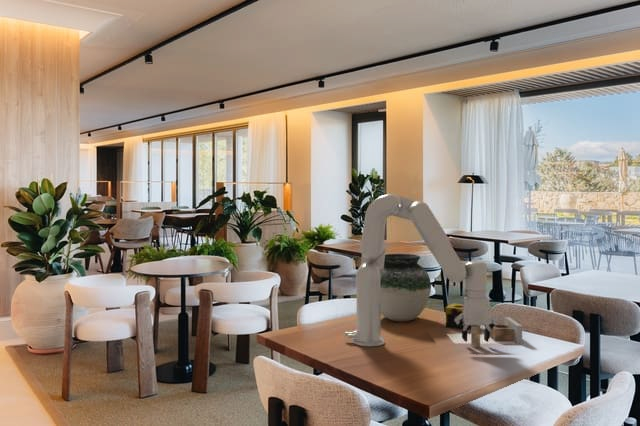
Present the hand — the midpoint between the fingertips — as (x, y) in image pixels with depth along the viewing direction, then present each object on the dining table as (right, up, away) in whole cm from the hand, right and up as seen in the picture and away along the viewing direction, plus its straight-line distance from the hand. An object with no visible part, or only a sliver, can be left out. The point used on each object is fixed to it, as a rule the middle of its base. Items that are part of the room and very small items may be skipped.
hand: (475, 340), depth 195 cm
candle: (+2, -3, +31) cm, 31 cm away
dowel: (0, -3, 0) cm, 3 cm away
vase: (-21, -2, +48) cm, 53 cm away
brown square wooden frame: (+13, -2, +11) cm, 17 cm away
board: (+6, -3, +11) cm, 13 cm away
